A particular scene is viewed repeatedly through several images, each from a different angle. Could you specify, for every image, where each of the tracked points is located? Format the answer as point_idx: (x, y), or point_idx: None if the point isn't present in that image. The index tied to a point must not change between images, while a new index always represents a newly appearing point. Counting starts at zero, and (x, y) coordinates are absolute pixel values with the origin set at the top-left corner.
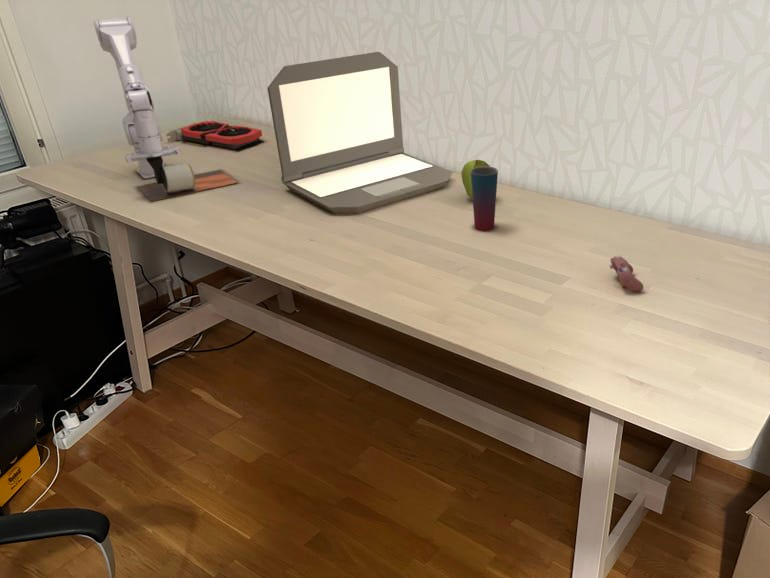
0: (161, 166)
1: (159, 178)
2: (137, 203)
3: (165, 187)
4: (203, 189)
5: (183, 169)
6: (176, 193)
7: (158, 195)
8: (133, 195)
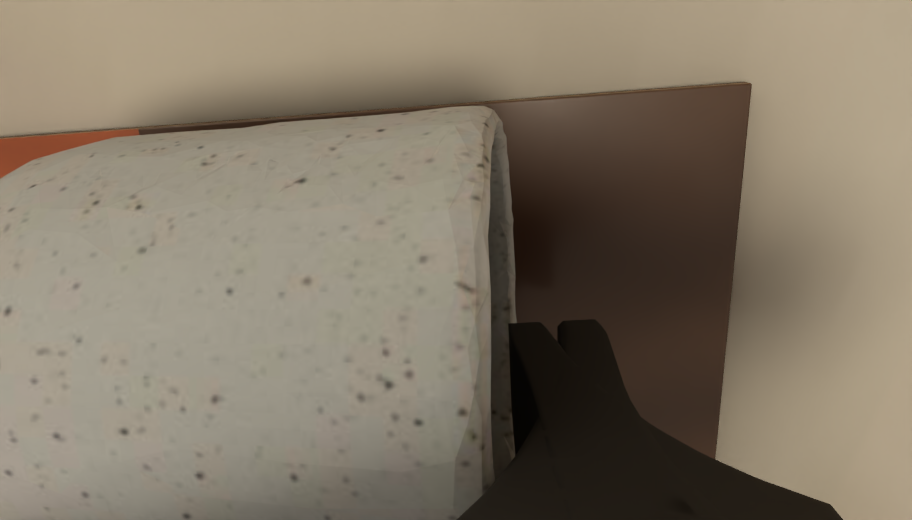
0: (509, 468)
1: (576, 349)
2: (903, 129)
3: (492, 343)
4: (53, 141)
5: (50, 285)
6: None
7: (608, 238)
8: (820, 417)
